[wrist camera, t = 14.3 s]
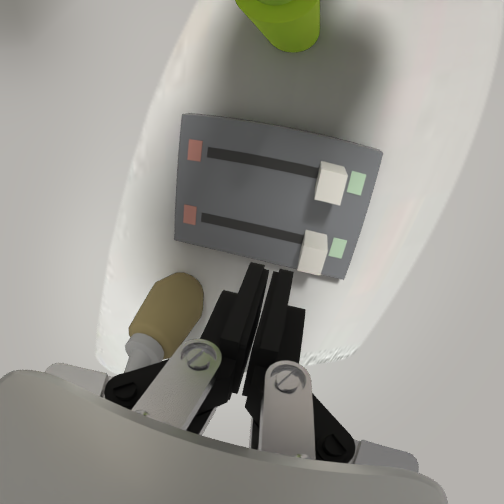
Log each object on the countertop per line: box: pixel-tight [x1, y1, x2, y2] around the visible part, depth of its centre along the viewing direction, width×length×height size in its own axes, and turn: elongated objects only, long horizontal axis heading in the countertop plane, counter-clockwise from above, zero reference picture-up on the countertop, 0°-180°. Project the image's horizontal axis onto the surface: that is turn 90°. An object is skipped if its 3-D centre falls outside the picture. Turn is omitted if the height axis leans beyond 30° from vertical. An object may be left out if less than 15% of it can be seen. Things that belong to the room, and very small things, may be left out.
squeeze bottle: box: [124, 273, 203, 373], centre depth 37 cm, size 8×8×18 cm
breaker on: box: [315, 161, 348, 205], centre depth 29 cm, size 3×2×4 cm
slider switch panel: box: [174, 113, 383, 280], centre depth 34 cm, size 16×22×2 cm
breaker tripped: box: [297, 230, 328, 276], centre depth 33 cm, size 3×2×4 cm
